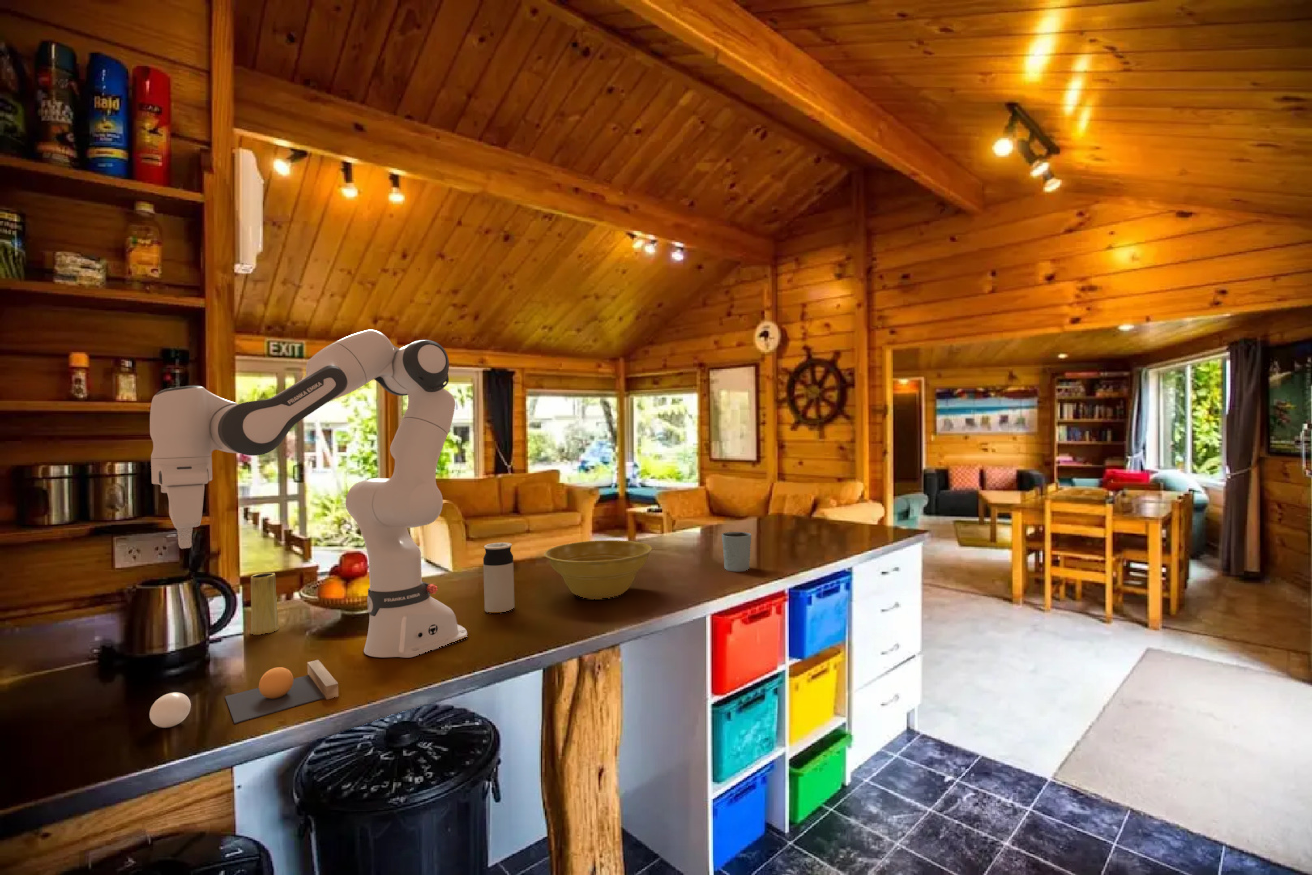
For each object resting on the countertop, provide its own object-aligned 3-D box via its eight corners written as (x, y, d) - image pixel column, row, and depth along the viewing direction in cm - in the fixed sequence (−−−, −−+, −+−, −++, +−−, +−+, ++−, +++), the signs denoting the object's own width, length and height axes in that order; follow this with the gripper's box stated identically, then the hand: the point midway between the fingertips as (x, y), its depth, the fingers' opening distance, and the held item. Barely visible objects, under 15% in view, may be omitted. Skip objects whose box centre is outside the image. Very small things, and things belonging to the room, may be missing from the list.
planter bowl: (545, 583, 191) (544, 542, 191) (644, 577, 197) (643, 536, 197) (545, 614, 159) (543, 564, 159) (662, 605, 165) (661, 557, 165)
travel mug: (499, 616, 159) (497, 548, 158) (478, 611, 163) (476, 546, 163) (520, 607, 166) (518, 543, 165) (500, 604, 170) (498, 541, 169)
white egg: (144, 698, 102) (154, 727, 103) (145, 708, 98) (155, 738, 99) (184, 682, 106) (193, 710, 106) (186, 692, 101) (196, 721, 102)
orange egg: (268, 659, 114) (250, 688, 112) (273, 668, 110) (254, 698, 108) (296, 668, 117) (279, 696, 115) (302, 676, 113) (284, 706, 111)
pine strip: (318, 671, 124) (318, 659, 124) (338, 696, 112) (338, 683, 112) (307, 674, 123) (307, 662, 123) (326, 699, 111) (326, 686, 111)
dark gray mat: (308, 675, 122) (308, 674, 122) (325, 697, 112) (325, 696, 112) (225, 697, 113) (225, 696, 113) (234, 723, 102) (234, 722, 102)
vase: (269, 634, 148) (267, 577, 147) (244, 635, 148) (242, 578, 147) (284, 626, 154) (282, 571, 154) (260, 627, 154) (258, 572, 154)
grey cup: (719, 571, 203) (718, 536, 202) (725, 564, 212) (725, 530, 212) (749, 572, 199) (748, 537, 199) (754, 565, 209) (753, 531, 209)
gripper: (158, 471, 116) (161, 542, 116) (162, 476, 101) (165, 557, 101) (199, 469, 120) (201, 537, 120) (208, 474, 105) (211, 552, 105)
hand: (185, 547), depth 110 cm, fingers closed
